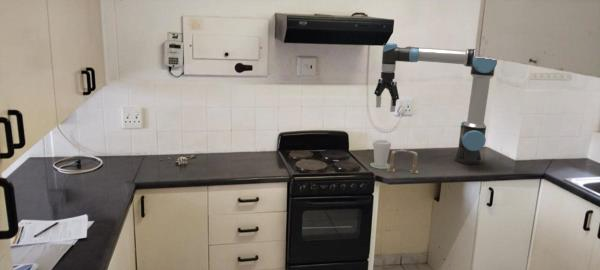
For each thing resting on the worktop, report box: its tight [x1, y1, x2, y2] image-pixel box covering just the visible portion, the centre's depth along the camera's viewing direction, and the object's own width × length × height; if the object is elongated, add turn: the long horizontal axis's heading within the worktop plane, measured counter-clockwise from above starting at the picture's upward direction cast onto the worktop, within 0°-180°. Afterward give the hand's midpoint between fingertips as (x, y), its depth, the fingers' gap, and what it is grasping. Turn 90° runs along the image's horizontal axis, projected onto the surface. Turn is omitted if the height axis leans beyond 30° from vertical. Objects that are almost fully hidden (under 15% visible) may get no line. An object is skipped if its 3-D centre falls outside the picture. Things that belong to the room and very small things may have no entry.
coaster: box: [369, 162, 390, 170], centre depth 268 cm, size 11×11×1 cm
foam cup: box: [372, 139, 392, 167], centre depth 266 cm, size 10×9×13 cm
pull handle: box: [386, 148, 419, 174], centre depth 259 cm, size 16×7×11 cm, turn 86°
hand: (385, 109), depth 276 cm, fingers open, 13 cm apart
